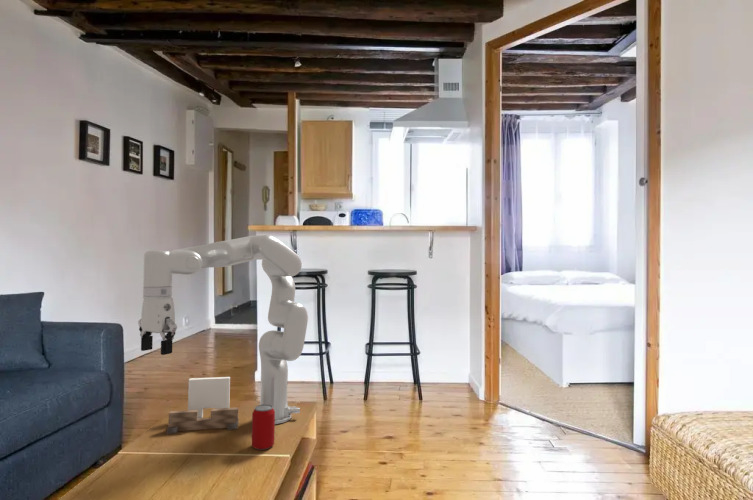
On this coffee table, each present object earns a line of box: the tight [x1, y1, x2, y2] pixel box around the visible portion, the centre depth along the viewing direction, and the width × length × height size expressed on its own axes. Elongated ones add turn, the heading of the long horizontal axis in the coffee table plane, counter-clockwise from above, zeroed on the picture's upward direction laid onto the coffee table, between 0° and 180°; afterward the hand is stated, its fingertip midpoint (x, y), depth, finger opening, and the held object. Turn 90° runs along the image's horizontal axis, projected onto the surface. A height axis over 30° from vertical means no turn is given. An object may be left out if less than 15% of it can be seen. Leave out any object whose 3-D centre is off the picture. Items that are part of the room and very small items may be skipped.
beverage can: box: [251, 404, 276, 451], centre depth 136 cm, size 7×7×12 cm
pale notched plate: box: [187, 376, 231, 419], centre depth 161 cm, size 2×14×14 cm, turn 103°
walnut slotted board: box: [166, 407, 239, 435], centre depth 150 cm, size 22×6×6 cm, turn 103°
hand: (156, 351), depth 128 cm, fingers open, 9 cm apart
